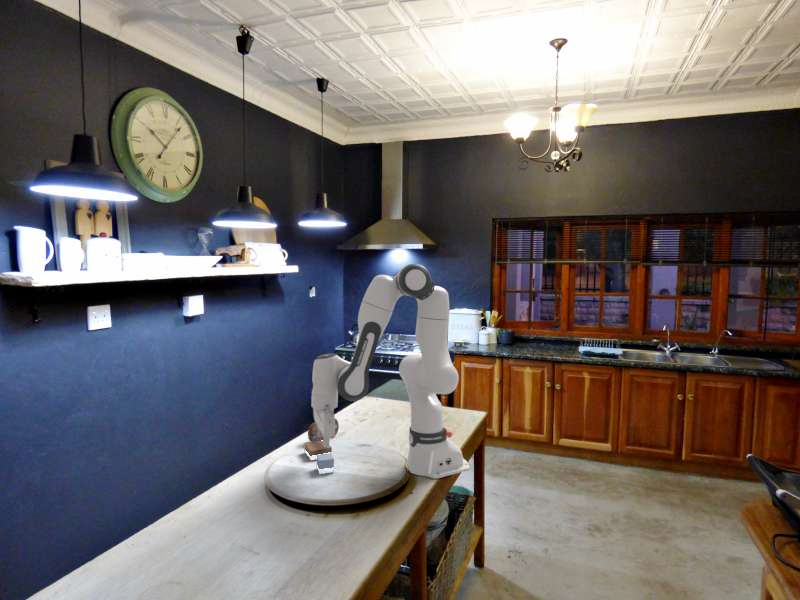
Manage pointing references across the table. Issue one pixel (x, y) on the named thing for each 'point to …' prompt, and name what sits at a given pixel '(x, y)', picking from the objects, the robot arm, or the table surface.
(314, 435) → the tin
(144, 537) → the table surface
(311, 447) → the walnut block
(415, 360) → the robot arm
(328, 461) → the blue cube
